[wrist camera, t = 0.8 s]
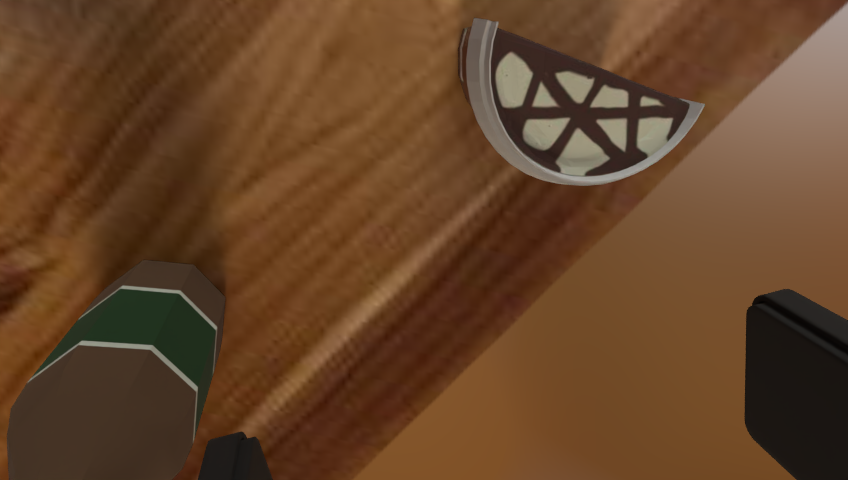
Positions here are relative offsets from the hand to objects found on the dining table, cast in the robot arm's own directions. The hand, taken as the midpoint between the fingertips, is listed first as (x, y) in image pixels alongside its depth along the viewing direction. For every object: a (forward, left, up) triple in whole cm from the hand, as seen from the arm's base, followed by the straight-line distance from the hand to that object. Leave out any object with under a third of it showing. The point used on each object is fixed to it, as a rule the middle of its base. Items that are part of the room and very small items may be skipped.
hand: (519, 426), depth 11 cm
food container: (0, +9, -28) cm, 29 cm away
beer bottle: (+6, -16, -28) cm, 33 cm away
